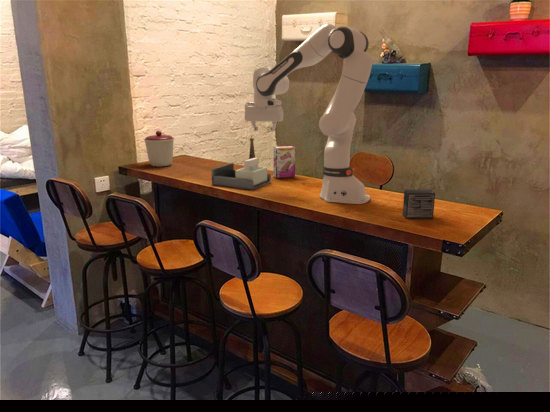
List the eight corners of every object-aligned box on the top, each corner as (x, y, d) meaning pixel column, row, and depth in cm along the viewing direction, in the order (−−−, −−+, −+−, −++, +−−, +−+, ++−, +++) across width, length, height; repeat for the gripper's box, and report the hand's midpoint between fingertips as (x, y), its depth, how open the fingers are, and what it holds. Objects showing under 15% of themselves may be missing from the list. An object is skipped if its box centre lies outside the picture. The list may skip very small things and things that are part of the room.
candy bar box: (276, 178, 241) (276, 148, 237) (273, 176, 246) (272, 146, 241) (295, 177, 245) (295, 146, 240) (292, 175, 250) (292, 145, 245)
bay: (270, 182, 233) (270, 167, 231) (252, 190, 218) (252, 173, 216) (232, 177, 244) (231, 163, 242) (212, 184, 229) (211, 169, 227)
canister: (139, 166, 273) (136, 131, 267) (158, 161, 289) (155, 128, 283) (164, 169, 266) (161, 133, 261) (182, 163, 282) (179, 129, 276)
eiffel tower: (258, 179, 241) (258, 132, 234) (240, 178, 244) (238, 131, 237) (264, 175, 251) (264, 129, 244) (246, 174, 253) (245, 129, 246)
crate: (267, 180, 231) (267, 158, 228) (252, 186, 220) (252, 162, 216) (250, 178, 236) (250, 156, 233) (235, 184, 224) (235, 160, 221)
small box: (428, 214, 180) (431, 188, 177) (433, 219, 173) (436, 192, 170) (401, 214, 180) (403, 188, 177) (405, 219, 174) (408, 192, 171)
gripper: (241, 102, 220) (242, 131, 223) (278, 102, 210) (279, 131, 214) (248, 101, 225) (249, 129, 229) (284, 101, 216) (285, 130, 219)
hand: (264, 130), depth 221 cm, fingers open, 8 cm apart
